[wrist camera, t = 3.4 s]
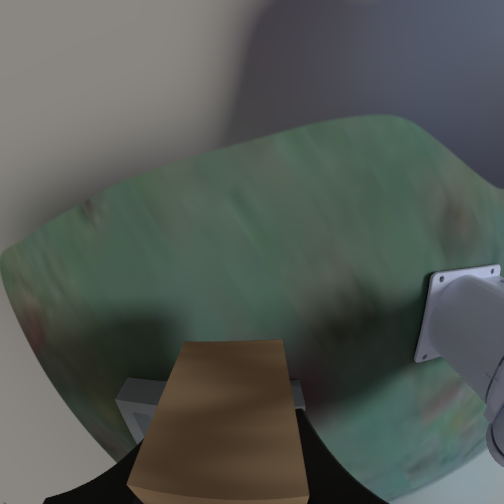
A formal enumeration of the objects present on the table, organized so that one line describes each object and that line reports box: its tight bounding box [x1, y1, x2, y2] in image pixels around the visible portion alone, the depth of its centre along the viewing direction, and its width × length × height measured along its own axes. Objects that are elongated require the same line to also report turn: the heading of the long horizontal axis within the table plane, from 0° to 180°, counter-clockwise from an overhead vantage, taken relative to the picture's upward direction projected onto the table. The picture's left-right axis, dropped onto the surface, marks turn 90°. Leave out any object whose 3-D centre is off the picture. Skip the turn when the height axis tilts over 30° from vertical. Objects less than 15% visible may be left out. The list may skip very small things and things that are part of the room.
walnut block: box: [127, 339, 309, 504], centre depth 8 cm, size 4×6×7 cm, turn 3°
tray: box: [115, 377, 305, 445], centre depth 19 cm, size 14×12×3 cm
